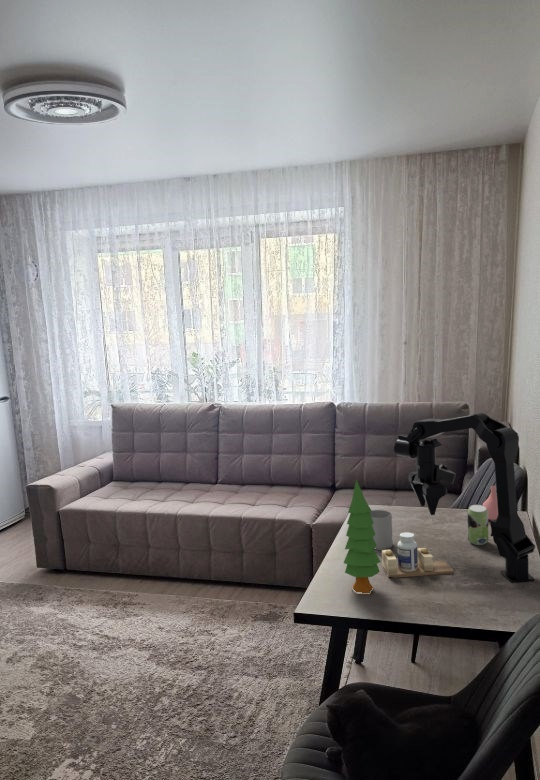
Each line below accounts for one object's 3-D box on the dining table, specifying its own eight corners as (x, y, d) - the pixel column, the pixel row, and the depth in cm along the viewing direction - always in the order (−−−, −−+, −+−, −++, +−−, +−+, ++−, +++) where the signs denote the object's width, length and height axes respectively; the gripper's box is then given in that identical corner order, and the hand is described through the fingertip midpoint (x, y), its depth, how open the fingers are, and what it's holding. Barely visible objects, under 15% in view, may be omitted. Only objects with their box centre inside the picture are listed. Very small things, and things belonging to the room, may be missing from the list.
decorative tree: (345, 597, 145) (340, 482, 143) (342, 581, 155) (338, 473, 152) (383, 596, 145) (379, 481, 142) (378, 580, 154) (374, 472, 151)
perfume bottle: (507, 524, 193) (506, 489, 192) (483, 523, 195) (482, 489, 194) (503, 516, 200) (503, 483, 199) (481, 516, 202) (480, 483, 201)
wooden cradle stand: (453, 573, 156) (452, 552, 156) (388, 577, 155) (387, 557, 155) (444, 563, 163) (443, 543, 163) (382, 567, 162) (381, 547, 162)
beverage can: (485, 539, 180) (484, 502, 179) (492, 547, 173) (491, 509, 172) (465, 539, 181) (464, 502, 180) (470, 548, 174) (469, 509, 172)
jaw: (433, 570, 156) (432, 554, 156) (424, 571, 156) (423, 554, 156) (425, 561, 163) (424, 545, 162) (417, 561, 163) (416, 545, 162)
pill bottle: (410, 563, 163) (409, 530, 162) (421, 570, 158) (420, 536, 157) (394, 566, 161) (393, 533, 160) (405, 573, 156) (404, 539, 155)
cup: (390, 550, 175) (389, 518, 174) (364, 548, 178) (362, 517, 177) (394, 540, 183) (392, 510, 182) (368, 539, 186) (367, 509, 185)
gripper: (464, 465, 164) (465, 518, 165) (441, 452, 182) (442, 500, 184) (426, 467, 163) (427, 520, 165) (407, 454, 182) (408, 502, 183)
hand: (427, 510), depth 174 cm, fingers open, 9 cm apart
